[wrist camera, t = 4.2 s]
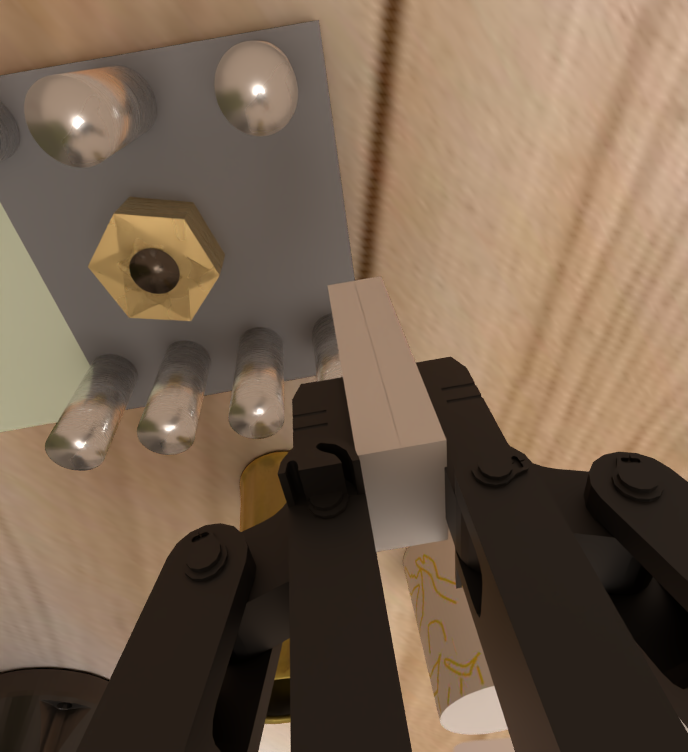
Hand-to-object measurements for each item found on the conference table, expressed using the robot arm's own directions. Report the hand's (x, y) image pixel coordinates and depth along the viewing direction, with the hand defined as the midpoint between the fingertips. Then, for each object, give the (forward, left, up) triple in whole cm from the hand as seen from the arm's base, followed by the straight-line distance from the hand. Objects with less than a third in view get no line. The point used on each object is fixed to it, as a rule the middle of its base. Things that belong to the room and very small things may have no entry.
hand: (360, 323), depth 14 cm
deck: (-10, -1, -12) cm, 16 cm away
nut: (-8, 0, -10) cm, 13 cm away
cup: (+6, -32, -13) cm, 35 cm away
